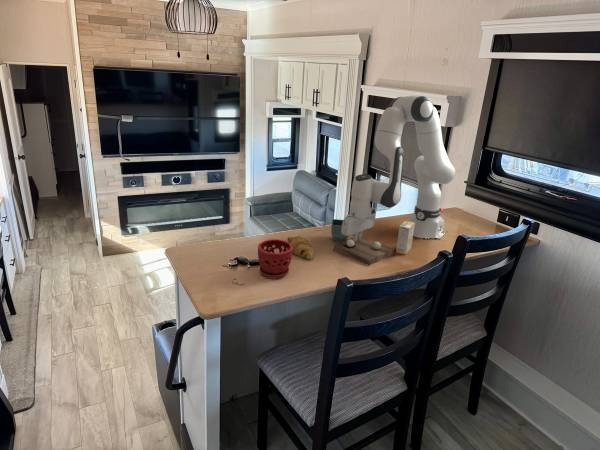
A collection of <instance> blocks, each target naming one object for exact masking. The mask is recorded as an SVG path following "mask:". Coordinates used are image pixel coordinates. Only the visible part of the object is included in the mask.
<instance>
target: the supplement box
mask: <svg viewBox="0 0 600 450" xmlns="http://www.w3.org/2000/svg"><path fill="white" fill-rule="evenodd" d="M414 226H415V223H413V222H410V221H408V220H404V221H403V222H402V223H401V224H400V225H399V228H398V236H397V244H396V251H395V253H396V254H401V255H404V256H406V255H407V254H409V252H410V251H411V249H412V245H413V238H414V236H413V233H414Z"/></svg>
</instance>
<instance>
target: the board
mask: <svg viewBox="0 0 600 450" xmlns="http://www.w3.org/2000/svg"><path fill="white" fill-rule="evenodd" d="M350 239H351V240H353V237H351V238H349V239H347V240H346V241H343V242H338V243H336V244H333V245H332V252H335V253H338V254H341V255H343V256H345V257H347V258H350V259H352V260H355V261H357V262H360V263H362V264H365V265H367V266H368V267H369V266H371V265H374V264H376V263H378V262H380V261H382V260H384V259H386V258H389V257H390V256H393V255H394V252H395V249H394V248H391V247H389V246H387V245H384V244H381V248H380V249H375V248H374V247H373V244H374V243H375V242H376V241H373V240H370V239H367V238H364V237H362V236H360V240H358V241H354V240H353V241H354V246H353V247H349V246H347V241H348V240H350Z"/></svg>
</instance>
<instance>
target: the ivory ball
mask: <svg viewBox="0 0 600 450" xmlns="http://www.w3.org/2000/svg"><path fill="white" fill-rule="evenodd" d="M349 239H350V240H349ZM349 239H347V240H348V241H347V246H349V247H353V246H354V241H353V240H351V238H349Z"/></svg>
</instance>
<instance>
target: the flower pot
mask: <svg viewBox="0 0 600 450" xmlns="http://www.w3.org/2000/svg"><path fill="white" fill-rule="evenodd" d="M343 220H344V219H340V218H339V219H338V218H336V219H335V218H331V224H330V225H331V227H330V228H331V231H330V232H331V237H332V240H333V242H338V243H341V242H343V241H346V240H348V238H349V236H345V235H342V233H341V229H342V223H343Z"/></svg>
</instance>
